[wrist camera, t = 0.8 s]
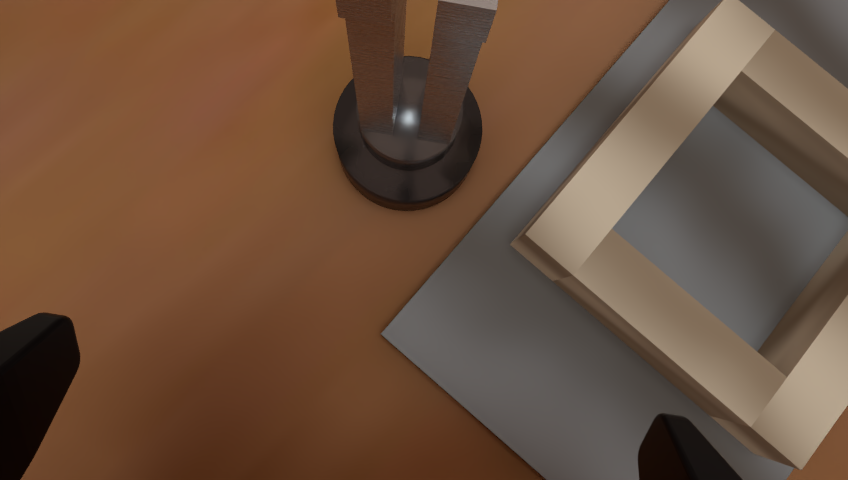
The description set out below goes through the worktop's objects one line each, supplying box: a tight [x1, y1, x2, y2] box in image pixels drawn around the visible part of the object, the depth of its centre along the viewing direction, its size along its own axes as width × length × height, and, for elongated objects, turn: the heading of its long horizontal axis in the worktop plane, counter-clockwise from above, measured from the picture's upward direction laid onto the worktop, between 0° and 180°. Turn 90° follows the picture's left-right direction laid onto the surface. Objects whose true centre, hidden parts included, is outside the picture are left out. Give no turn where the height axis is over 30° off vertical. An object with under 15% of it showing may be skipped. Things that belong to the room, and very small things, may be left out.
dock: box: [381, 0, 848, 480], centre depth 22 cm, size 22×14×4 cm, turn 139°
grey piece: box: [333, 0, 498, 211], centre depth 17 cm, size 5×5×13 cm
